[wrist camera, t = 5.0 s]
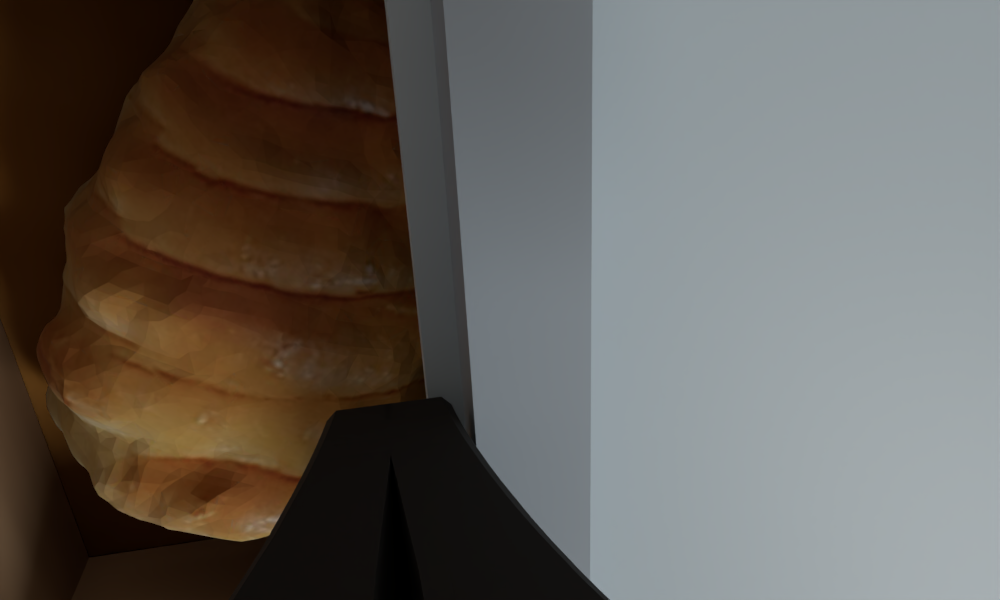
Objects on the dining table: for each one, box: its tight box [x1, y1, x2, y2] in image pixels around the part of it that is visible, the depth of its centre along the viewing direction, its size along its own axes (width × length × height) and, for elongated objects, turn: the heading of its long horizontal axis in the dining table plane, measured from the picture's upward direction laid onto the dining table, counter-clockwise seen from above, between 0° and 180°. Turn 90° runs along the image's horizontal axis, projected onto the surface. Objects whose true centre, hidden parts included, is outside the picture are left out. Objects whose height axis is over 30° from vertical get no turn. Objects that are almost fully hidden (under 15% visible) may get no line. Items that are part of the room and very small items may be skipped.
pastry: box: [37, 0, 426, 542], centre depth 13 cm, size 9×7×4 cm
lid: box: [384, 0, 1000, 600], centre depth 10 cm, size 13×13×2 cm
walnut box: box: [0, 320, 268, 600], centre depth 12 cm, size 13×13×5 cm
